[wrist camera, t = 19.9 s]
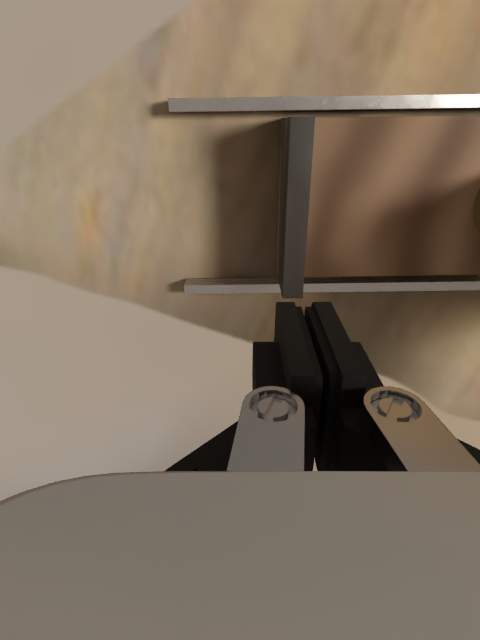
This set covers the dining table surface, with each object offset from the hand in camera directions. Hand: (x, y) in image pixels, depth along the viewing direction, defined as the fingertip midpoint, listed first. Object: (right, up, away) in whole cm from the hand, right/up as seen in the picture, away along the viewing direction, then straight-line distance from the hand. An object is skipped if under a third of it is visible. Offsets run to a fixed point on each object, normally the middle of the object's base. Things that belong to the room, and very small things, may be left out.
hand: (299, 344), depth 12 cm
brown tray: (+13, +10, +19) cm, 25 cm away
